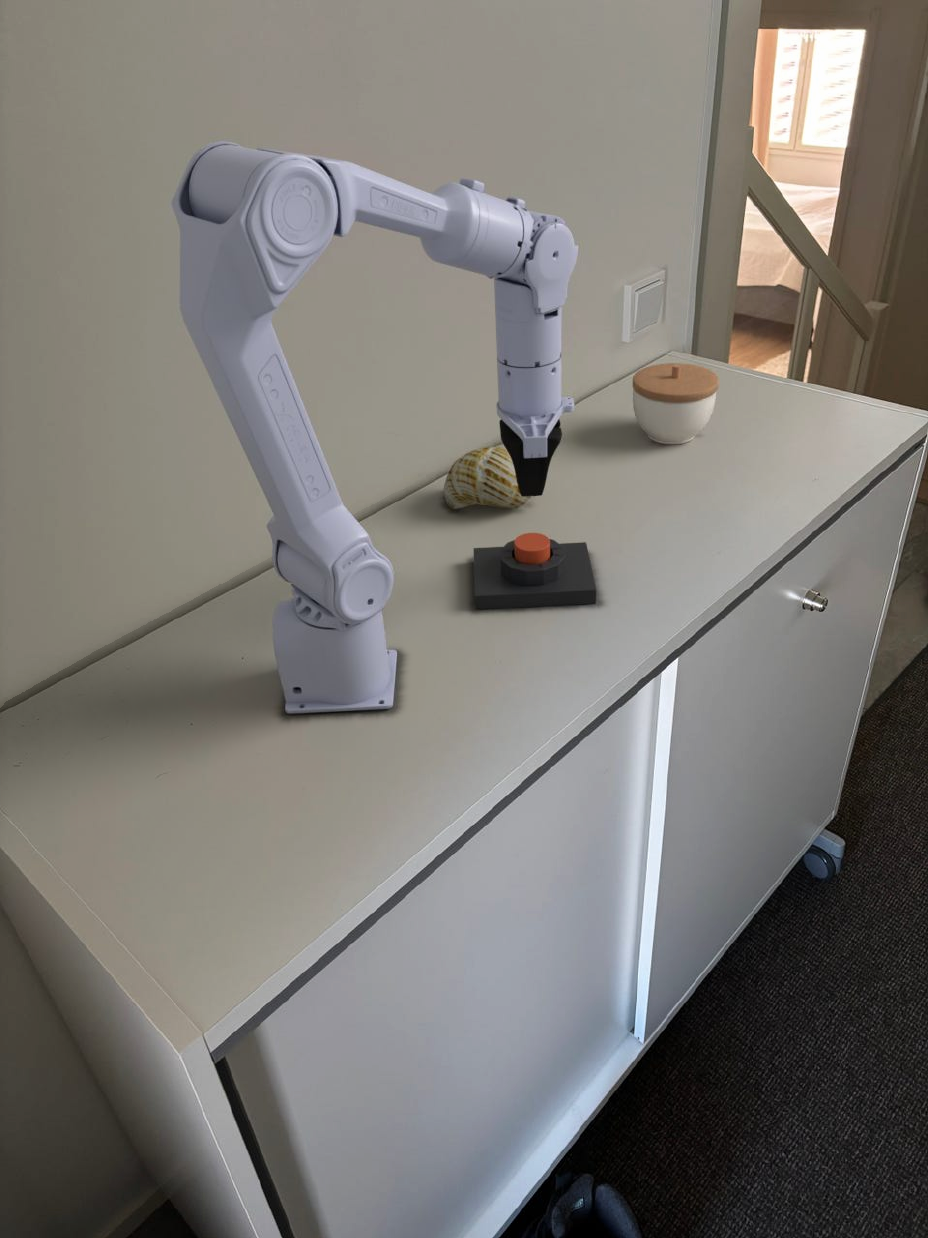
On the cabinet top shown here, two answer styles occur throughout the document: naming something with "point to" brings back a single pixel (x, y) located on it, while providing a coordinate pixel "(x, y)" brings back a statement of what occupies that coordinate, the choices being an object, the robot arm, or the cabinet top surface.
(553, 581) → the switch plate
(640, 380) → the trinket box
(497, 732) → the cabinet top surface
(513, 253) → the robot arm
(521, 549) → the switch button
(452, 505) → the seashell
